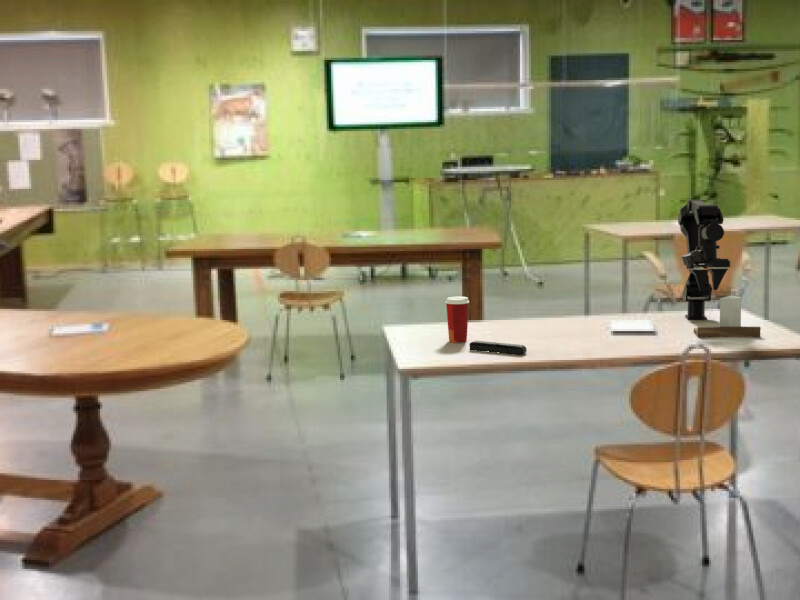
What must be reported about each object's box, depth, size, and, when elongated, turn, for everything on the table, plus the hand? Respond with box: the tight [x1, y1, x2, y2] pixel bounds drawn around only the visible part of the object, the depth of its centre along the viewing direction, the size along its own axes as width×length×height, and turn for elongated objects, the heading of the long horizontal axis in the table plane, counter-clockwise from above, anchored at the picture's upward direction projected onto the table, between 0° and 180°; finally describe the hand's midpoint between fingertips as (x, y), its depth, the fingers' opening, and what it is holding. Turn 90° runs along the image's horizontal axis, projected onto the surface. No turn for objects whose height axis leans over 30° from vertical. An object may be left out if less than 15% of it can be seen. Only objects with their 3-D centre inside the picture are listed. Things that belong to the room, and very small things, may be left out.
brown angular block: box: [693, 326, 761, 338], centre depth 318 cm, size 8×19×3 cm, turn 83°
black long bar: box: [469, 340, 527, 356], centre depth 302 cm, size 18×3×3 cm, turn 60°
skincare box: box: [719, 295, 742, 327], centre depth 318 cm, size 6×4×12 cm
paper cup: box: [444, 295, 470, 344], centre depth 318 cm, size 8×8×14 cm
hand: (708, 290), depth 329 cm, fingers open, 9 cm apart
